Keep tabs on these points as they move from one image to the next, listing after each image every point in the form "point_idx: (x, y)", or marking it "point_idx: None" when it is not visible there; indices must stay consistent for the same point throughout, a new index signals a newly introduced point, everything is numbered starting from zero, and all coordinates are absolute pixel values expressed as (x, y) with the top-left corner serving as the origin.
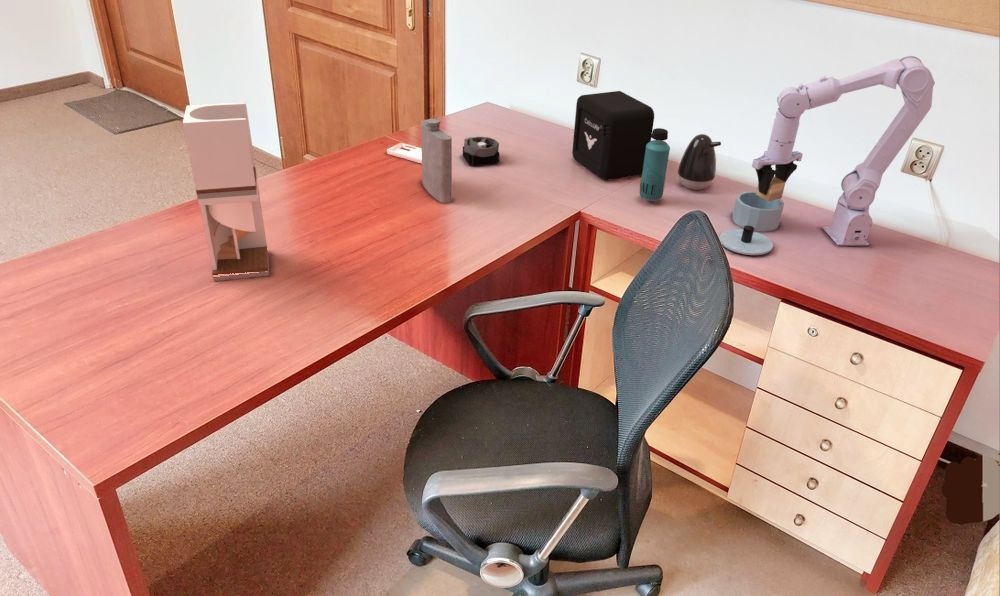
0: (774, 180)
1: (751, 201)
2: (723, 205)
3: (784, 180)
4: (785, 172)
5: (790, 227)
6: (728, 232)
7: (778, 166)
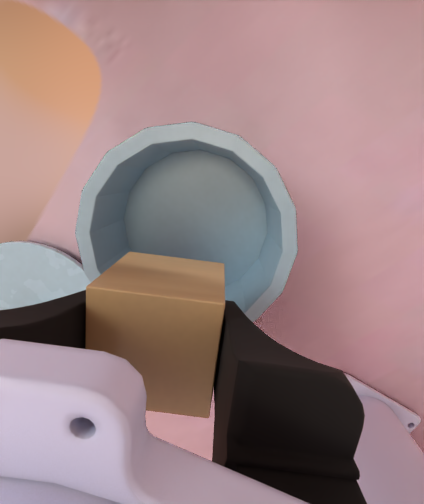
0: (159, 366)
1: (235, 159)
2: (198, 50)
3: (215, 409)
4: (213, 459)
5: (263, 314)
6: (14, 255)
7: (227, 396)
